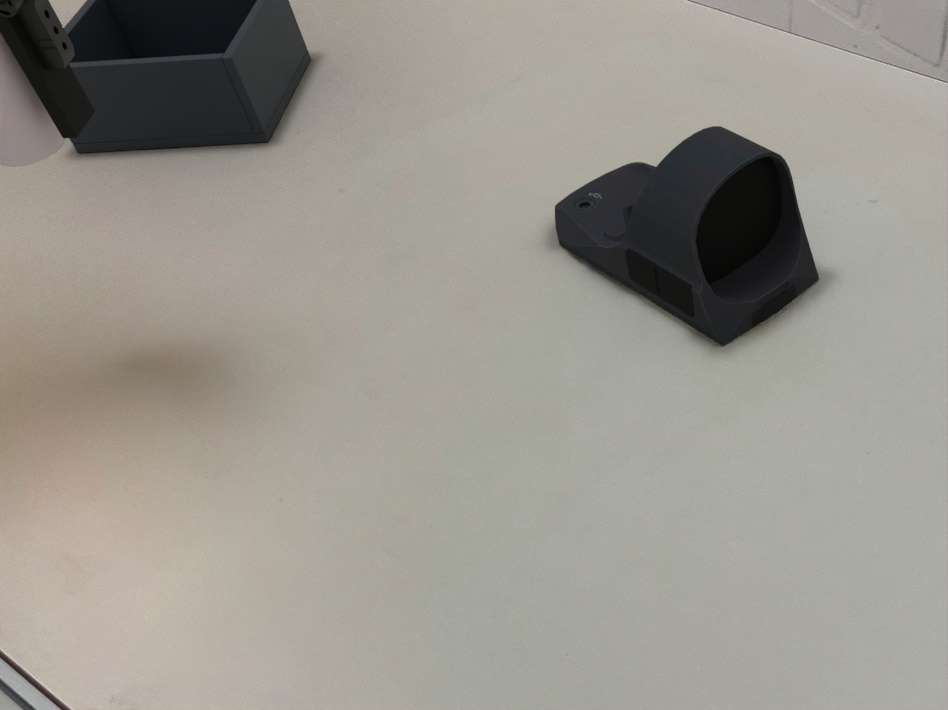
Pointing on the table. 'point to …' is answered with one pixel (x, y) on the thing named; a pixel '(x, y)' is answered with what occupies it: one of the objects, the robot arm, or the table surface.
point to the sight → (697, 232)
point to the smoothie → (23, 117)
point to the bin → (184, 71)
